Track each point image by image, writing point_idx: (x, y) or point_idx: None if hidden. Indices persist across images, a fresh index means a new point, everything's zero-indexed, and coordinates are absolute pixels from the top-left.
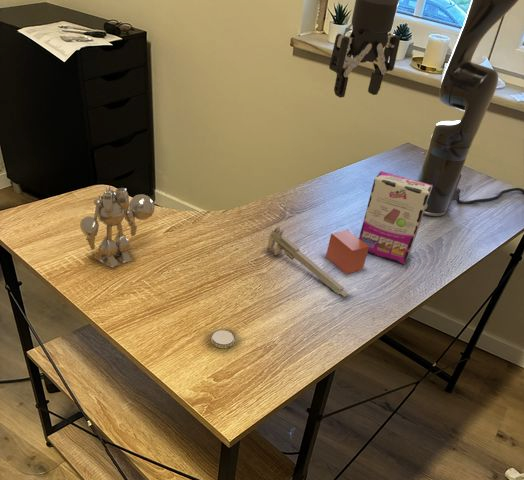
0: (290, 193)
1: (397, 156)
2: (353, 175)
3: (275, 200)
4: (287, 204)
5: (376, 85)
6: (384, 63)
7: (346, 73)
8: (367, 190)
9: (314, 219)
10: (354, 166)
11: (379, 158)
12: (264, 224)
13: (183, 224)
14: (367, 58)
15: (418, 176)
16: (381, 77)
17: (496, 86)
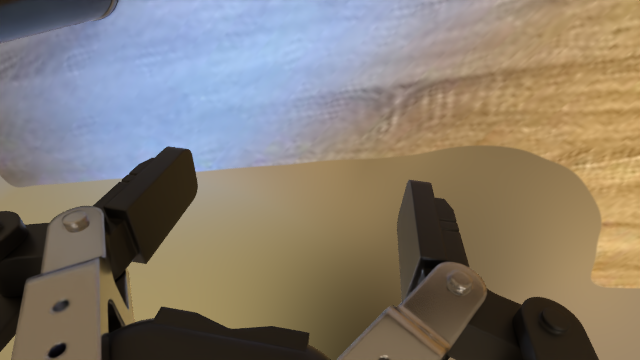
0: (337, 153)
1: (52, 167)
2: None
3: (383, 146)
4: (372, 125)
5: (163, 176)
6: (45, 268)
7: (466, 282)
8: (180, 97)
9: (366, 54)
10: None
11: (92, 175)
12: (476, 86)
13: (606, 154)
14: (231, 354)
15: (62, 23)
16: (112, 198)
17: None
